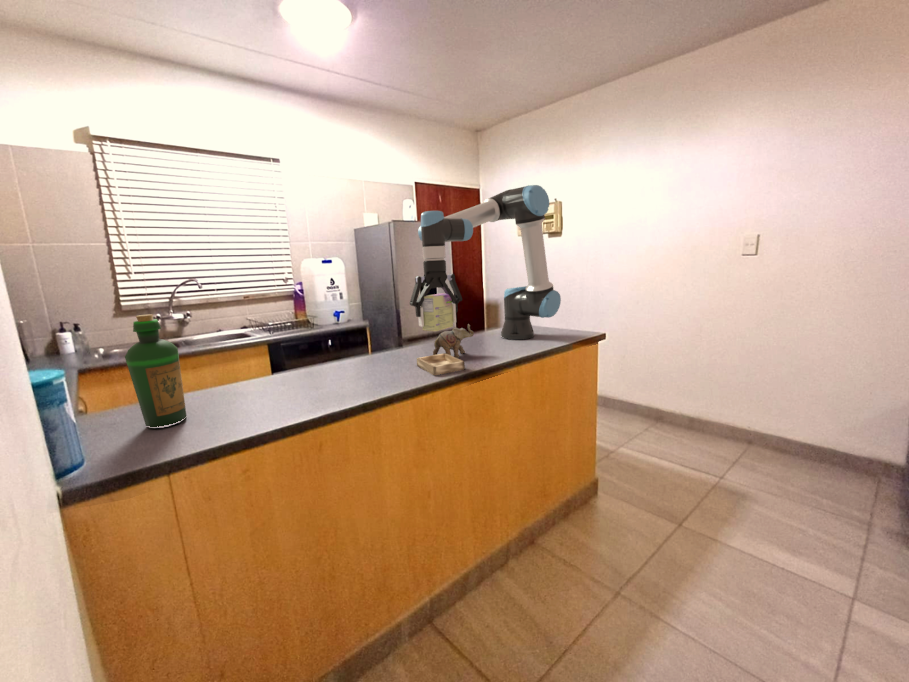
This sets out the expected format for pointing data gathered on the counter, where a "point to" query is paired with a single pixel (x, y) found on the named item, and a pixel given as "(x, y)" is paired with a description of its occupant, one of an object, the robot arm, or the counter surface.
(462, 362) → the tray
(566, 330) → the counter surface
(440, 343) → the figurine
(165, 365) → the bottle
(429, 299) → the box
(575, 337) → the counter surface
